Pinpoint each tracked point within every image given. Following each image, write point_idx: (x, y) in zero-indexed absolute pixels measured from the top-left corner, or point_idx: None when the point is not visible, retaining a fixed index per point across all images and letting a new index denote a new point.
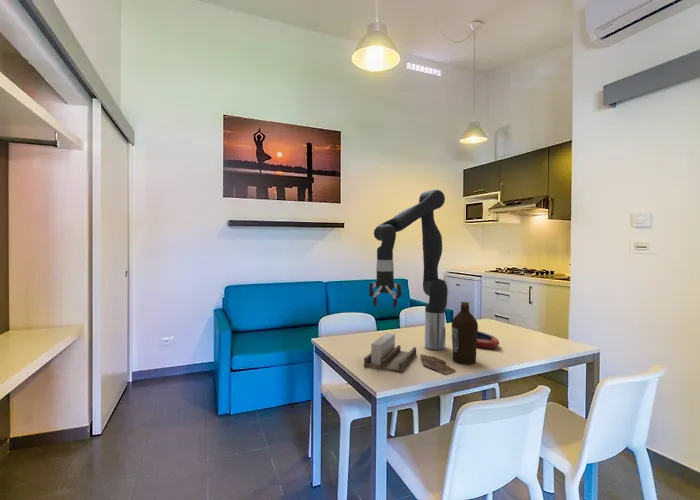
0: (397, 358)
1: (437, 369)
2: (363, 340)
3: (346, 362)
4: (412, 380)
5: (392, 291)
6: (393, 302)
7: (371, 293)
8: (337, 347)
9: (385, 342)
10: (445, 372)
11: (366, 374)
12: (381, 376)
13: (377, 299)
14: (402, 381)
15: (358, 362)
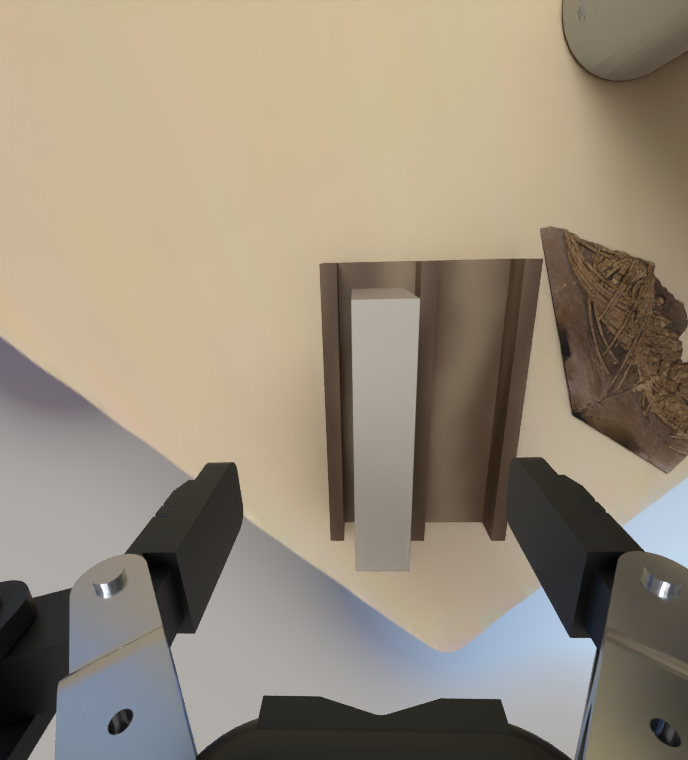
0: (445, 394)
1: (636, 433)
2: (109, 76)
3: (245, 497)
4: None
5: (654, 747)
6: (541, 576)
7: (27, 752)
8: (75, 319)
9: (410, 497)
10: (669, 454)
11: (370, 572)
12: (426, 569)
13: (195, 526)
14: (505, 579)
15: (288, 478)
